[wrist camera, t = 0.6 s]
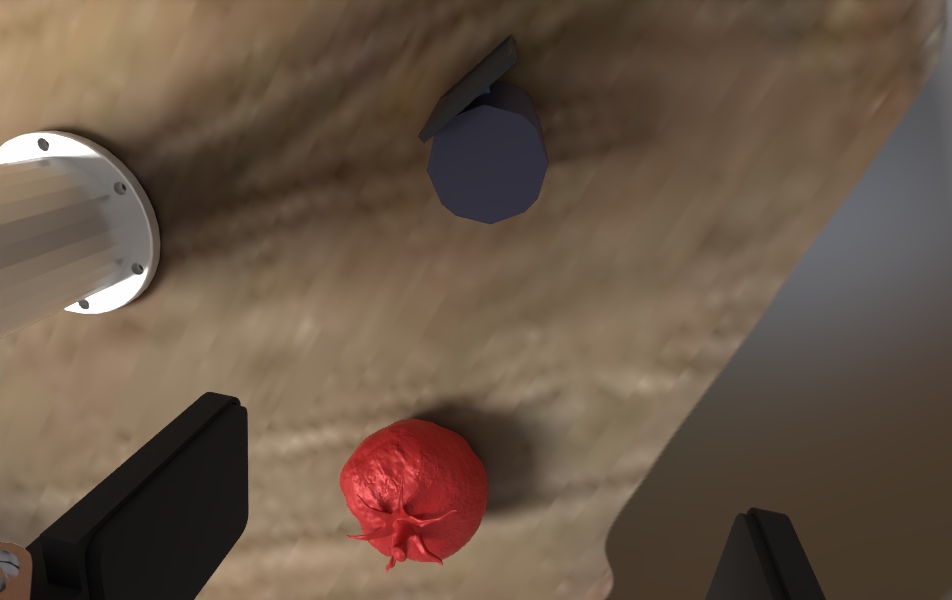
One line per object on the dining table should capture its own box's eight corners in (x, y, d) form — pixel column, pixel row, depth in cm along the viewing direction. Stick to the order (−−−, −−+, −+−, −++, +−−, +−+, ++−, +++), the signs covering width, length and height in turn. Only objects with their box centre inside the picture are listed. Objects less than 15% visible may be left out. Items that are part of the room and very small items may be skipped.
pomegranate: (414, 375, 43) (376, 448, 34) (520, 463, 44) (508, 555, 36) (335, 459, 47) (281, 545, 38) (435, 539, 48) (405, 640, 39)
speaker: (418, 70, 35) (382, 91, 26) (513, 33, 34) (511, 41, 25) (464, 191, 38) (446, 250, 29) (552, 161, 37) (564, 212, 28)
